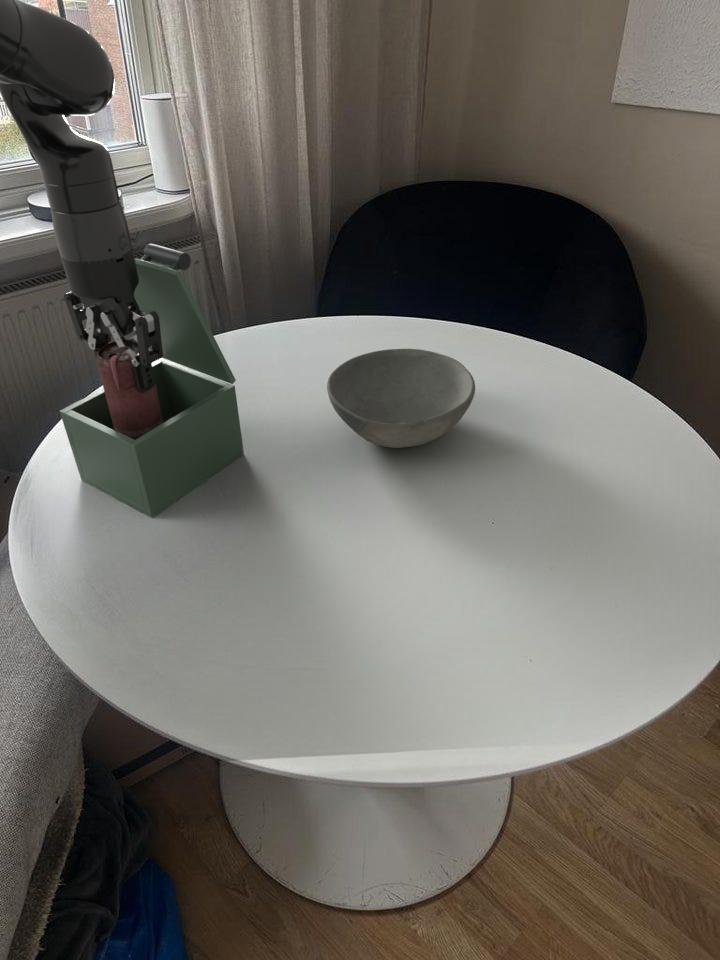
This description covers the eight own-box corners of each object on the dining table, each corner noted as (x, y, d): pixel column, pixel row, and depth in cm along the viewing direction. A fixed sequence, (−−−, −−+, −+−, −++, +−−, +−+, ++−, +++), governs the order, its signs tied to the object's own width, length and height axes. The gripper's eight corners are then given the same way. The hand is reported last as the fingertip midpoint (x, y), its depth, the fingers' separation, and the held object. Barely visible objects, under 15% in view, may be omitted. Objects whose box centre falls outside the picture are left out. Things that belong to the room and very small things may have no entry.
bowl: (483, 468, 96) (489, 418, 91) (330, 474, 95) (327, 424, 91) (458, 389, 113) (462, 344, 108) (327, 394, 112) (325, 349, 107)
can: (115, 461, 90) (89, 363, 81) (124, 434, 95) (100, 338, 86) (163, 459, 90) (142, 360, 82) (170, 431, 95) (150, 336, 87)
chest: (152, 518, 88) (134, 446, 82) (81, 480, 95) (59, 410, 88) (244, 453, 100) (234, 385, 93) (174, 423, 106) (161, 357, 99)
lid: (176, 275, 78) (206, 245, 80) (94, 251, 85) (124, 224, 87) (232, 384, 92) (256, 356, 95) (159, 356, 99) (183, 331, 101)
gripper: (25, 244, 77) (65, 378, 88) (111, 270, 71) (144, 413, 81) (82, 225, 82) (113, 355, 92) (167, 249, 76) (191, 385, 86)
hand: (127, 381), depth 87 cm, fingers closed on can, 6 cm apart
